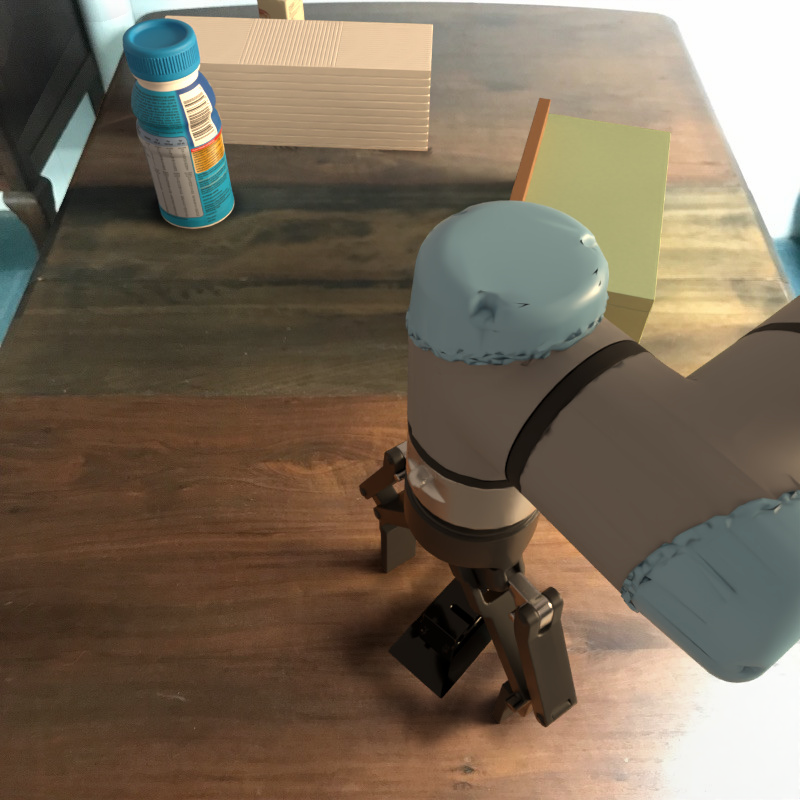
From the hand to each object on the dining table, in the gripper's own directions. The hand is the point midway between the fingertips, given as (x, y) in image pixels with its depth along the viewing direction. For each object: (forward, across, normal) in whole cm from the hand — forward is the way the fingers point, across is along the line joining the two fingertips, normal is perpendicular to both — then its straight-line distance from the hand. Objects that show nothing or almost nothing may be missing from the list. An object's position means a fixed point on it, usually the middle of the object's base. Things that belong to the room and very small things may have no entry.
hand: (450, 632), depth 58 cm
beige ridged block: (+1, -63, +24) cm, 68 cm away
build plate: (0, 0, 0) cm, 0 cm away
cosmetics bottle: (+1, -77, +30) cm, 83 cm away
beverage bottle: (+1, -55, +6) cm, 56 cm away
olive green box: (0, -24, +34) cm, 42 cm away
